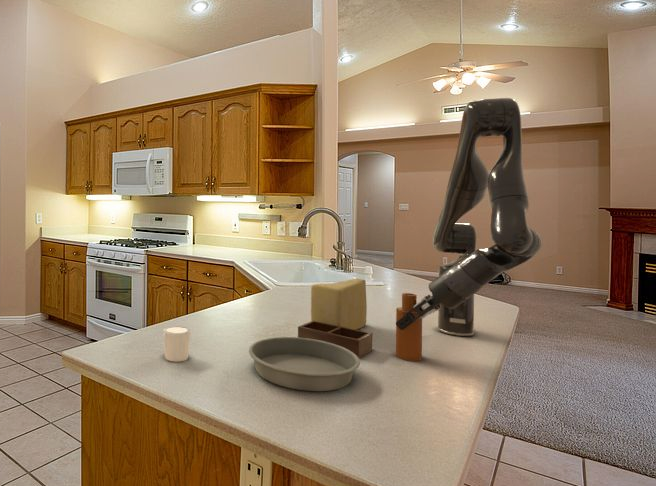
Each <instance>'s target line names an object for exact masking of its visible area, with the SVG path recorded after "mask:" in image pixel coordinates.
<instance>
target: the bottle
mask: <svg viewBox="0 0 656 486" xmlns="http://www.w3.org/2000/svg"><path fill="white" fill-rule="evenodd" d="M417 296H418V295H417V294H415V293H410V292H403V293H401V307H397V308H396V309H395V313H396V314H395V320H396V321H395V323H396V322H397V321H399V320H400V319H401V318H403V317H404V316H405V315H406V312H409V311H410V310H412V309H413V306H414V305H416V304H417V303H418V302H417ZM412 314H413V316H414V317H415V318H416V317H417V316H419V315H418V314H417V313H416V312H415V311H414V312H412ZM395 356H396V357H397V358H399V359H401V360H404V361H411V362H419V361H421V360H422V358H423V319H422V318H419V319H418V320H416V322H413V323H412V324H410V325H409V326H407V327H406V328H405V329H403V330H400V329H399V328H398V326H397V325H396V324H395Z"/></svg>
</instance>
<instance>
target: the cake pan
mask: <svg viewBox="0 0 656 486" xmlns="http://www.w3.org/2000/svg"><path fill="white" fill-rule="evenodd" d="M248 353H249V355H250V357H251V358H252V359H253V363H254V368H255V371H256V373H257V374H258V375H259V376H260V377H261V378H263V379H264V380H266V381H268V382H269V383H272V384H275V385H277V386H281V387H284V388H287V389H293V390H296V391H297V390H299V391H306V392H328V391H336V390H339V389H342V388H345V387H346V386H348V385H349V384H350V383H351V381H352V378H353V375H354V371H356V370H357V369H358V368H359V367H360V365H361V360H360V358H358V357H357V356H356V355H355V354H354V353H353V352H351V351H350V350H348V349H346V348H344V347H341V346H338V345H336V344H332V343H329V342H325V341H320V340H315V339H308V338H298V336H296V337H295V336H279V337H270V338H264V339H260V340H258V341H255V342H253V343H252V344H251V345H250V346H249V348H248Z"/></svg>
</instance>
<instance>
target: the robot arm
mask: <svg viewBox="0 0 656 486" xmlns="http://www.w3.org/2000/svg"><path fill="white" fill-rule="evenodd" d="M522 133H523V131H522V117H521V109H520V107H519V104H518V102H517V101H516V100H515V99H514V98H511V97H499V98H497V97H496V98H484V99H474V100H471V101H469V102H468V103H467V104H466V106H465V108H464V110H463V113H462V118H461V122H460V129H459V136H458V142H457V147H456V148H457V149H456V153H455V156H454V161H453V163H452V167H451V171H450V175H449V178H448V181H447V186H446V191H445V196H444V200H443V205H442V209H441V210H440V213H439V216H438V218H437V222H436V224H435V227H434V230H433V235H432V246H433V248H434V249H435V251H437V252H439V253H441V254H457V255H459V256H458V257H457V258H456V259H454V260H452V261H449V262H446V263H443V264H440V265H439V266H438V276H437V277H436V278H435V279H433V280H432V281H430V283H429V284H428V290H429V292H431V295H430V294H428V295H425V296H424V297H422V298H421V299H420V301H419V302H417V304H416V305H414V306H413V309H412V310H410V311H409V312H406V315H405V316H404V317H403V318H401V319H400V320H399V321H397V322H396V321H395V326H396V325H397V326H398V328H399V329H400V330H403V329H405V328H406V327H407V326H409V325H410V324H412V323H413V322H416V320H418V319H419V318H422V320H423V319H425V318H426V317H428V316H429V315H431V314H434V313H435V312H437V311H438V312H437V318H438V319H437V331H439V332H440V333H443V334H447V335H451V336H458V337H472V336H474V335H475V331H474V328H475V327H474V325H475V324H474V323H475V294H477V293H478V292H479V291H480V290H481V289H482V288H483V287H485V286H486V285H487V284H489V283H490V282H491V281H493V280H494V279H496V278H497V277H498V276H499V275H501V274H502V273H505V272H507V271H510V270H513V269H514V268H517V267H518V266H520V265H523V264H524V263H526V262H528V261H530V260H531V259H533V258H534V257H535V256H536V255H537V254H538V253H539V252H540V251H541V249H542V246H543V239H542V237H541V235H540V233H538V232H537V231H536V230H534V229H532V228H531V227H529V226H528V224H527V219H526V214H527V213H528V212H529V210H530V200H529V195H528V190H527V186H526V182H525V176H524V167H523V134H522ZM487 137H501V138H502V139H501V140H502V150H501V152H500V154H499V157H498V158H497V160H496V162H495V164H494V165H493V167H492V169H491V170H490V172H489V169H488V167H487V165H486V164H485V162H484V161H483V159H482V157H481V156H480V154H479V152H478V150H477V142H478V139H479V138H487ZM487 191H488V196H489V201H490V207H491V215H490V236H491V240H492V242H493V245H491V246H489V247H487V248H478V249H477V229H476V227H475V226H474V225H473V224H472V223H461V222H460V223H457V222H458V221H459V220H460V219H461V218H462V217H463V216H465V215H466V214H468V213H469V212H470V211H471V210H473V209H475V208H476V207H477V206H478V205H479V204H480V203H481V202H482V201H483V200H484V198H485V196H486V194H487ZM414 311H415V312H416V313H417V314H418V315H419V316H417V317H416V318H415V317H414V316H413V314H412V312H414Z"/></svg>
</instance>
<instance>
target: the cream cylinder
mask: <svg viewBox="0 0 656 486" xmlns="http://www.w3.org/2000/svg"><path fill="white" fill-rule="evenodd" d="M162 335H163V346H164V357H165V360H167V361H170V362H175V363H176V362H184V361H187V360H188V358H189V350H190V339H191V329H190V328H188V327H186V326H180V325H179V326H178V325H177V326H175V325H174V326H167V327H164V328H163V330H162Z"/></svg>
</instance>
